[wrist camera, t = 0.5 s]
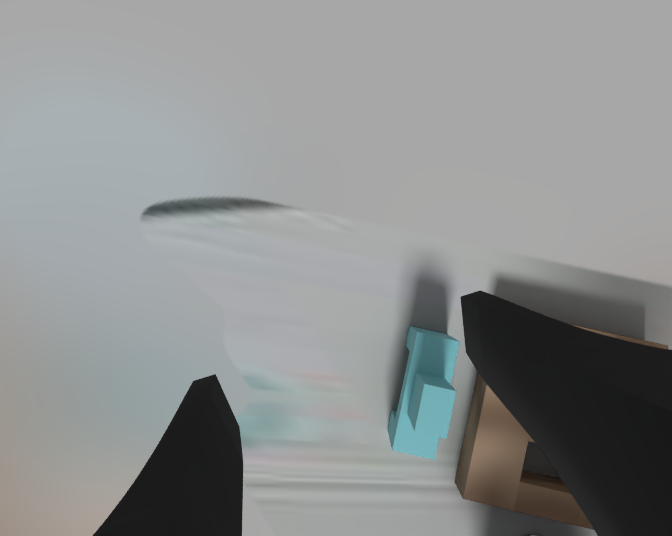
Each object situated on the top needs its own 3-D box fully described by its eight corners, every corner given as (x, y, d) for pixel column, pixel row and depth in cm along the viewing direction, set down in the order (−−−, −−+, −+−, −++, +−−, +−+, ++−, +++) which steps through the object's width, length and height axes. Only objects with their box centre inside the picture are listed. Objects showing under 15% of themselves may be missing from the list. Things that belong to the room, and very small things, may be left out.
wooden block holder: (491, 307, 34) (502, 310, 32) (645, 340, 34) (668, 345, 31) (454, 482, 34) (462, 498, 31) (608, 518, 33) (629, 537, 31)
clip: (409, 326, 34) (425, 339, 27) (447, 334, 34) (473, 349, 27) (387, 430, 34) (397, 472, 27) (425, 438, 34) (445, 483, 27)
